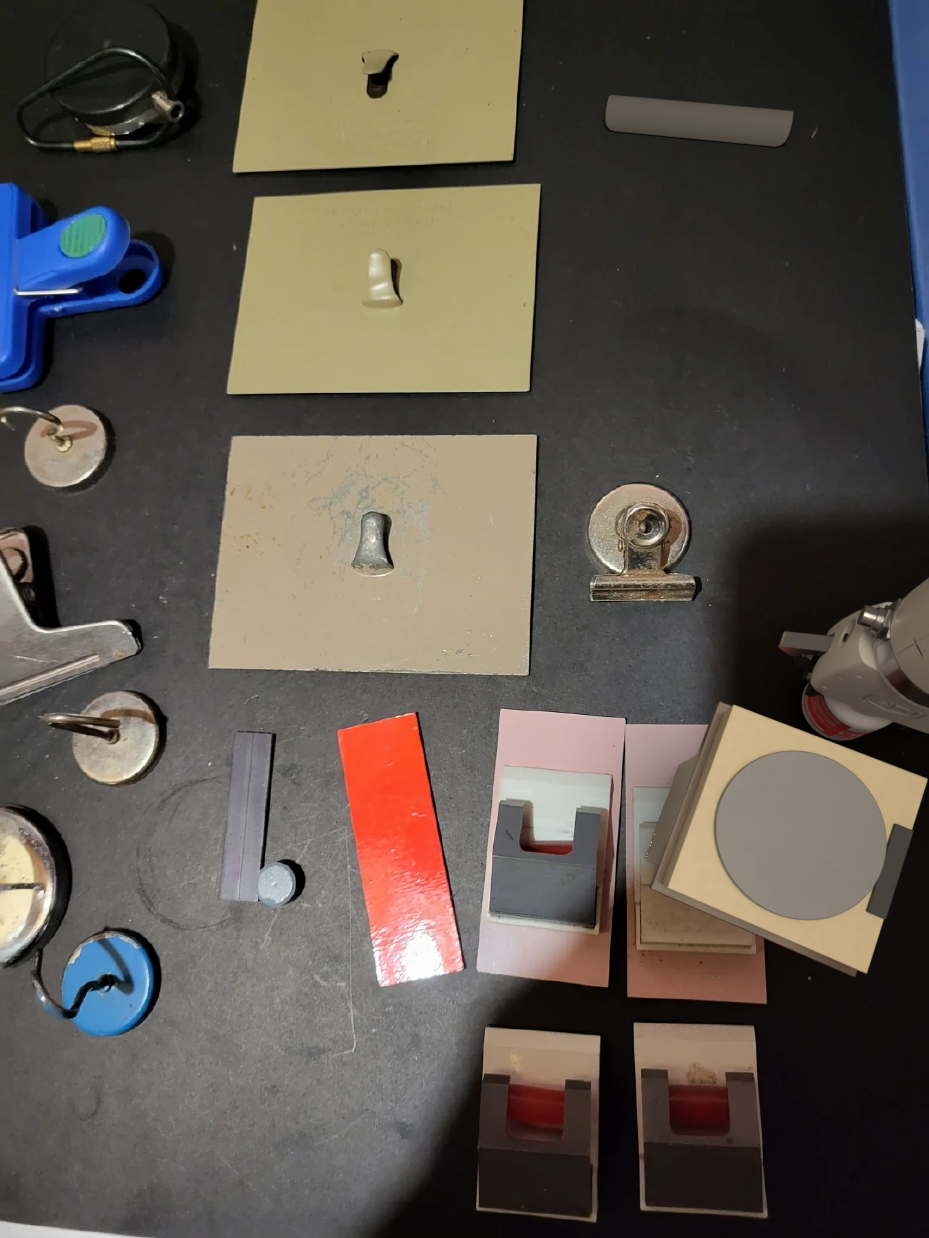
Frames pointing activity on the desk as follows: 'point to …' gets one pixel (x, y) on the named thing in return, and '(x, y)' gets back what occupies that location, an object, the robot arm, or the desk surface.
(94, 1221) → the desk surface
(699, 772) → the stand
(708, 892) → the scale
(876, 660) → the robot arm
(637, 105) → the gray half cylinder
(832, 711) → the pill bottle
